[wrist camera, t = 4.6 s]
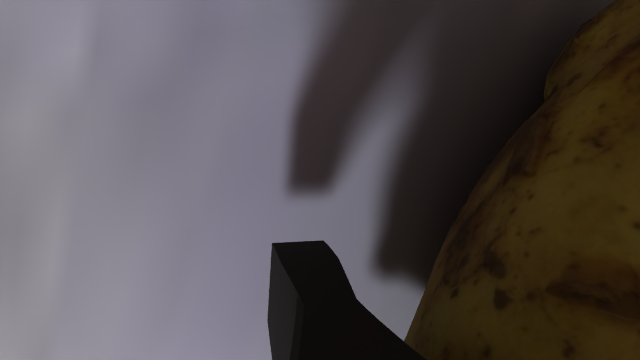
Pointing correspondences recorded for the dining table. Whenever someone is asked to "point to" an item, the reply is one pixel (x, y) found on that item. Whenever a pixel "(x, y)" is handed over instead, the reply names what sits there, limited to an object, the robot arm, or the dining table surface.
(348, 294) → the robot arm
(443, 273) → the potato
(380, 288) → the dining table surface
